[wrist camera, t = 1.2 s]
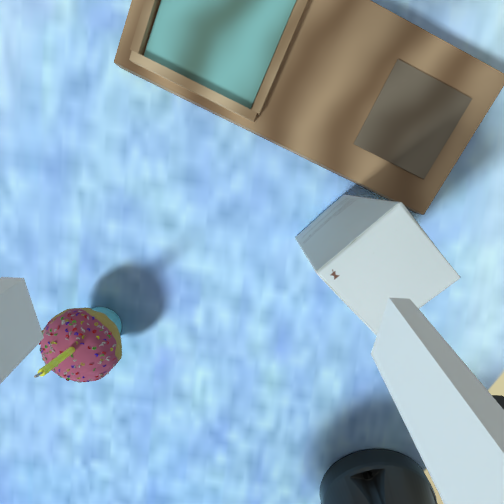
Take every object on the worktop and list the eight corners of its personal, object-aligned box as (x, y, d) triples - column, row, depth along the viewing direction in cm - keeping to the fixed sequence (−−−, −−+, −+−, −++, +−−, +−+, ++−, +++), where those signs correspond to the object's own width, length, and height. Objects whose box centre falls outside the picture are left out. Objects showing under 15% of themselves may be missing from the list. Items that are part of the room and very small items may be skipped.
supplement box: (334, 282, 33) (377, 343, 21) (293, 236, 32) (312, 271, 20) (387, 241, 32) (465, 279, 20) (345, 191, 31) (401, 198, 18)
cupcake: (83, 281, 34) (-10, 333, 23) (148, 311, 35) (91, 377, 23) (61, 337, 36) (-33, 412, 25) (123, 365, 37) (60, 451, 25)
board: (496, 81, 28) (517, 73, 25) (416, 213, 31) (428, 215, 29) (170, -96, 25) (162, -123, 23) (121, 68, 28) (109, 58, 26)
